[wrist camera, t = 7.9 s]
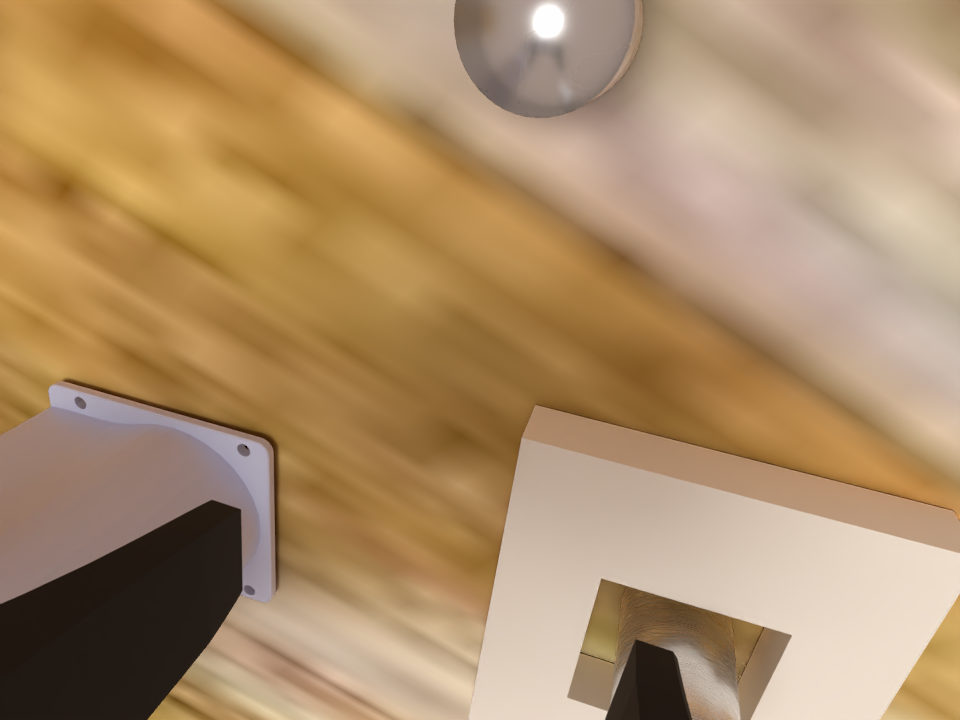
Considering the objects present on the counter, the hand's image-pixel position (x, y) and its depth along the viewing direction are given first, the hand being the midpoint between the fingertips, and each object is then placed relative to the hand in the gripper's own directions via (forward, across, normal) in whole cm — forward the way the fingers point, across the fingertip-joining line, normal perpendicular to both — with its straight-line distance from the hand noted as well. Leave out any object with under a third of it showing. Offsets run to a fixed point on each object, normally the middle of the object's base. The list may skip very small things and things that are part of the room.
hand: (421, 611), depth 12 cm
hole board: (+10, -6, +8) cm, 14 cm away
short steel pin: (+10, +1, -9) cm, 14 cm away
